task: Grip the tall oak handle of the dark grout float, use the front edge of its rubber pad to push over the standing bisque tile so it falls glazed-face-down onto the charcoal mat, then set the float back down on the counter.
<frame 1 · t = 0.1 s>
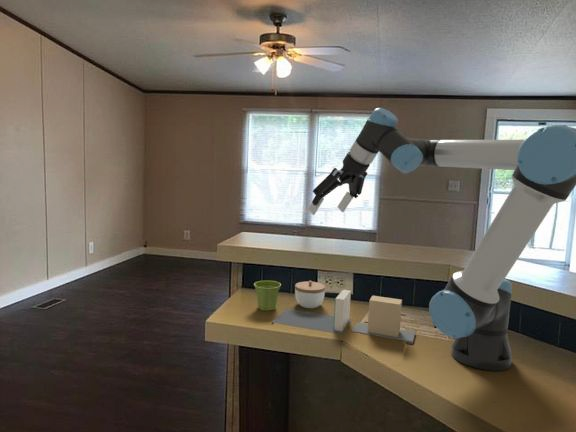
hand: (326, 210, 144), 36 cm above the worktop, tool tilted 35°, fingers open, 13 cm apart
lidded jar: (309, 307, 159), on the worktop
tile: (341, 325, 141), point 1 cm above the worktop, touching mat
plant pot: (266, 308, 156), on the worktop
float: (383, 334, 137), on the worktop
mat: (312, 322, 144), on the worktop
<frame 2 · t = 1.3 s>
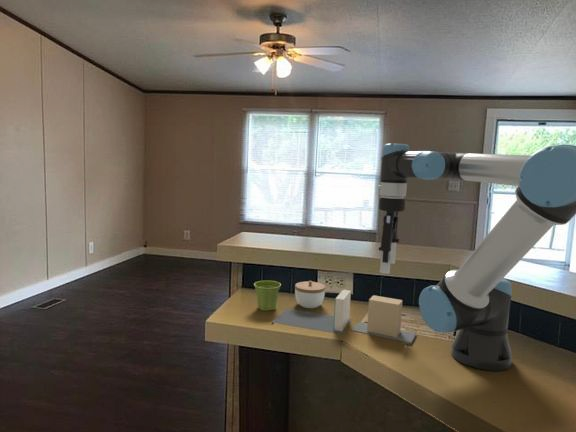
hand: (387, 268, 134), 21 cm above the worktop, tool pointing down, fingers open, 13 cm apart
nothing on the worktop moved.
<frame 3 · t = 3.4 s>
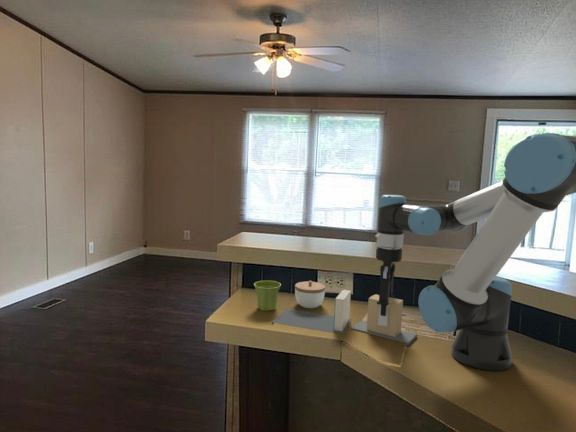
hand: (384, 321, 137), 4 cm above the worktop, tool pointing down, fingers closed on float, 6 cm apart
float: (383, 333, 137), on the worktop, touching gripper
everything else where it was.
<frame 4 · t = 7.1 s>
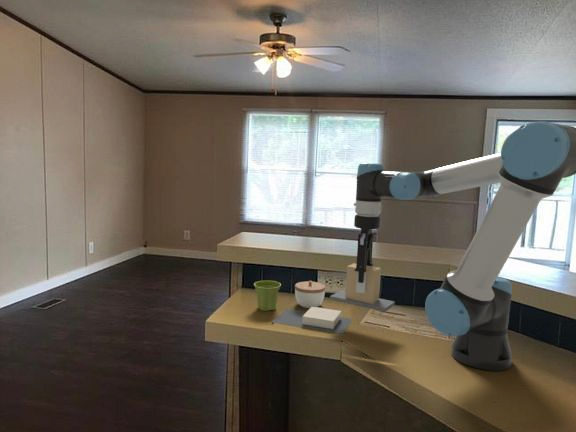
hand: (362, 289, 138), 13 cm above the worktop, tool pointing down, fingers closed on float, 6 cm apart
tile: (337, 319, 142), point 2 cm above the worktop, tilted 90°, touching mat
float: (361, 301, 138), point 9 cm above the worktop, touching gripper
everything else where it was.
when the fingers open (5 cm above the worktop, at t = 11.2 s): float drops 2 cm, on the worktop.
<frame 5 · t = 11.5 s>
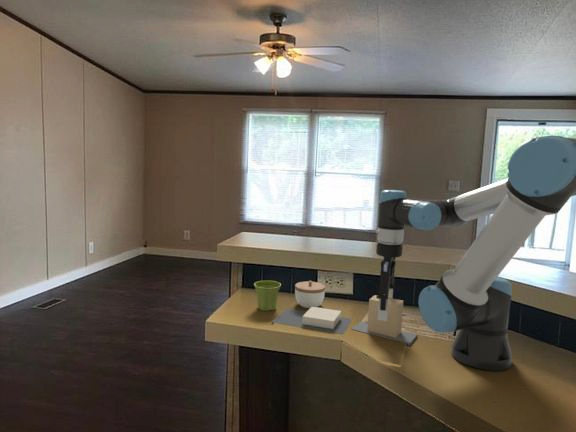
hand: (384, 314, 136), 6 cm above the worktop, tool pointing down, fingers open, 10 cm apart
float: (384, 334, 137), on the worktop
everything else where it was.
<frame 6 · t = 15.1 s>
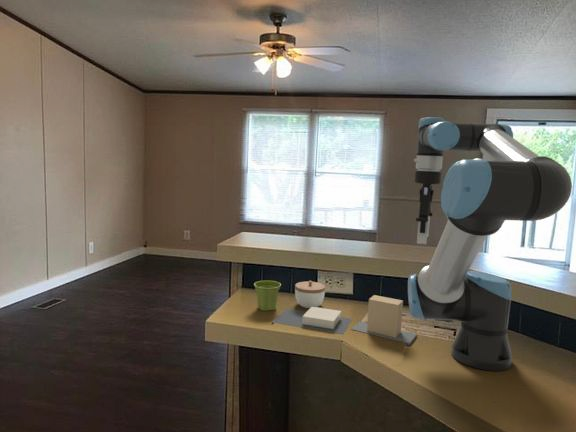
hand: (422, 240, 138), 29 cm above the worktop, tool pointing down, fingers open, 13 cm apart
nothing on the worktop moved.
at the end: tile tilted 90°; tile inside the target area (5.0 cm from its centre), point 2.1 cm above the worktop; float inside the target area (0.0 cm from its centre), on the worktop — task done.
